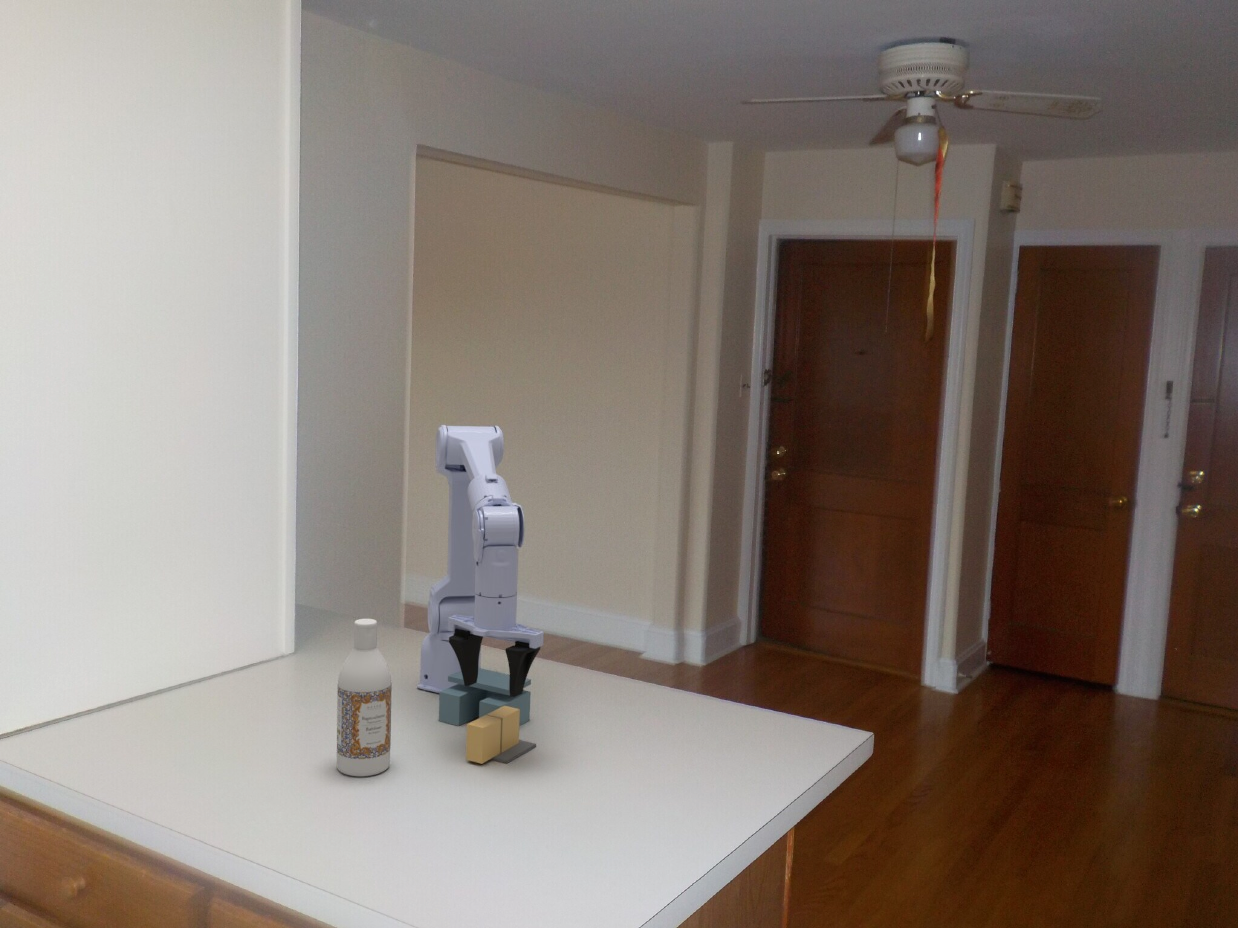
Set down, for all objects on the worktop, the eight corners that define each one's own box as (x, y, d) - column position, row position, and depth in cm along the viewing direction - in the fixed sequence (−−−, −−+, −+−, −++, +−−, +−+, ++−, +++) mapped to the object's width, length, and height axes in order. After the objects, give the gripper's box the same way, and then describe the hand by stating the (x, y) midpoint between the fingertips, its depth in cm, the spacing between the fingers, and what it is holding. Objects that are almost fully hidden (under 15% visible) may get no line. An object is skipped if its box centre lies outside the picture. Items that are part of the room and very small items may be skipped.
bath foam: (347, 781, 140) (349, 630, 138) (329, 762, 146) (330, 617, 144) (398, 771, 144) (400, 624, 142) (378, 753, 150) (381, 612, 148)
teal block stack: (438, 720, 163) (439, 679, 163) (470, 705, 170) (471, 666, 170) (499, 736, 158) (500, 693, 158) (529, 720, 165) (530, 679, 165)
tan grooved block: (465, 759, 148) (466, 723, 148) (503, 739, 156) (504, 705, 156) (482, 763, 147) (483, 728, 146) (518, 743, 155) (520, 709, 154)
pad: (471, 753, 151) (471, 750, 151) (501, 737, 158) (501, 734, 158) (506, 763, 149) (507, 760, 148) (536, 746, 155) (536, 743, 155)
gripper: (435, 590, 148) (433, 686, 150) (524, 607, 142) (521, 707, 143) (466, 581, 155) (463, 673, 156) (553, 596, 148) (549, 693, 150)
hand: (493, 689), depth 150 cm, fingers open, 7 cm apart
